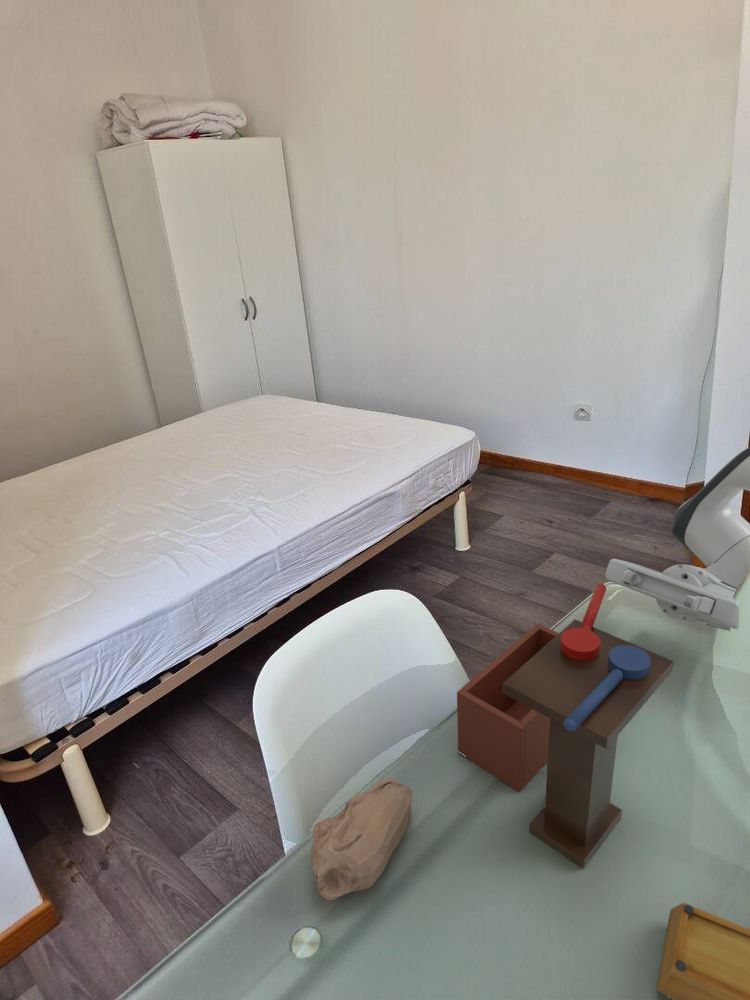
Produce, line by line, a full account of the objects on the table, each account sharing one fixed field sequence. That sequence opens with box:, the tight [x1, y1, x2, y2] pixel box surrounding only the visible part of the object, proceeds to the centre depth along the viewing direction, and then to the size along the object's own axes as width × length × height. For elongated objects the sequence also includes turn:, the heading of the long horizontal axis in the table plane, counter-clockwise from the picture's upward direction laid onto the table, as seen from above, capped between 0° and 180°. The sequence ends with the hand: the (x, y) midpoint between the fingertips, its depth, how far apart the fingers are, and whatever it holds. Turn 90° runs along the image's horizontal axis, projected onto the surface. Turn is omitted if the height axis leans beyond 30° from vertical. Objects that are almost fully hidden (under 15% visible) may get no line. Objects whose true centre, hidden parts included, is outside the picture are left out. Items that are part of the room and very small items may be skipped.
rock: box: [309, 777, 413, 901], centre depth 88 cm, size 18×10×10 cm
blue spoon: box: [564, 645, 651, 731], centre depth 77 cm, size 16×5×1 cm, turn 135°
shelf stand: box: [503, 619, 675, 870], centre depth 86 cm, size 16×13×26 cm
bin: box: [456, 623, 560, 793], centre depth 104 cm, size 21×11×12 cm, turn 135°
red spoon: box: [560, 582, 607, 661], centre depth 88 cm, size 16×5×1 cm, turn 153°
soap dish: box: [656, 902, 750, 1000], centre depth 72 cm, size 12×10×5 cm
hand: (657, 589), depth 99 cm, fingers open, 8 cm apart
